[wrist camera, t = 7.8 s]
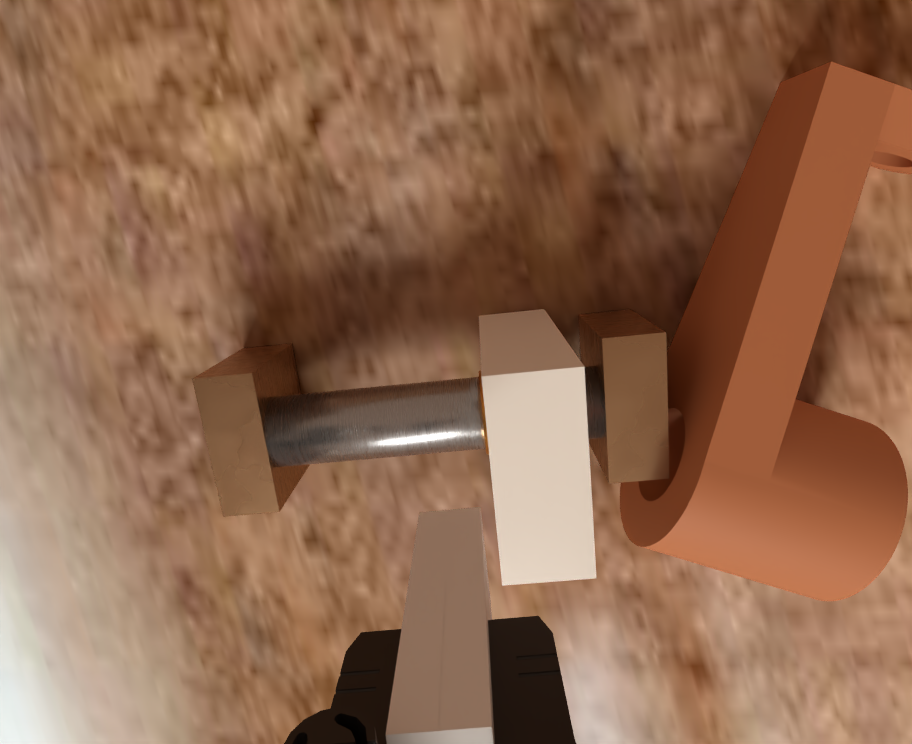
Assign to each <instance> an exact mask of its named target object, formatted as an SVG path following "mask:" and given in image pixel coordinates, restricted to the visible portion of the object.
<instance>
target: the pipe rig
mask: <svg viewBox="0 0 912 744" xmlns="http://www.w3.org/2000/svg"><path fill="white" fill-rule="evenodd" d="M578 317H579V335H580V352H581V362H582V364H583V365H584V368H585V386H586V404H587V422H588V439H589V444H590V446H591V448H592V450H593V452H594V454H595V456H596V458H597V460H598V462H599V464H600V466H601V468H602V470H603V472H604V474H605V476H606V478H607V480H608V482H609V484H611V483H622V482H634V481H646V480H657V479H669V436H668V389H667V342H666V332H665V331H664V330H662V329H660V328H659V327H657V326H656V325H654V324H653V323H651V322H650V321H648V320H646V319H645V318H643V317H642V316H640V315H639V314H637V313H636V312H634V311H632V310H631V309H627V310H617V311H608V312H598V313H588V314H578ZM192 380H193V385H194V389H195V393H196V398H197V402H198V407H199V411H200V416H201V420H202V425H203V429H204V434H205V438H206V442H207V447H208V451H209V456H210V460H211V465H212V469H213V474H214V478H215V483H216V487H217V491H218V496H219V500H220V505H221V509H222V514H223V517H226V516H237V515H249V514H261V513H272V512H280V510H281V509H282V507H283V505H284V504H285V502H286V501H287V499H288V498H289V496H290V495H291V493H292V491H293V490H294V488H295V487H296V485H297V484H298V482H299V481H300V479H301V477H302V476H303V474H304V473H305V471H306V470H307V468H308V467H309V465H310V464H318V463H329V462H341V461H352V460H363V459H374V458H385V457H396V456H407V455H419V454H430V453H441V452H452V451H463V450H474V449H485V448H486V453H487V454H489V447H488V437H487V427H486V417H485V407H484V397H483V387H482V378H481V371H479V377H473V378H462V379H452V380H441V381H431V382H421V383H410V384H400V385H389V386H379V387H369V388H358V389H348V390H337V391H327V392H317V393H306V394H301V390H300V385H299V379H298V374H297V368H296V362H295V357H294V351H293V346H292V343H290V344H281V345H271V346H261V347H251V348H243V349H241V350H239V351H238V352H236V353H234V354H233V355H231V356H229V357H228V358H226V359H224V360H223V361H221V362H220V363H218V364H216V365H215V366H213V367H211V368H210V369H208V370H206V371H205V372H203V373H201V374H200V375H198V376H196V377H195V378H193V379H192Z"/></svg>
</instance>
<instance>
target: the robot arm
mask: <svg viewBox="0 0 912 744" xmlns="http://www.w3.org/2000/svg"><path fill="white" fill-rule="evenodd" d="M340 674H341V675H340V677H339V679H338V683H337V687H336V694H334V698H333V702H332V705H331V709H327V710H323V711H320V712H318V713H316V714H314V715H312V716H310V717H308V718H307V719H305V720H303V721H302V722H301V723H300V724H299V725H298V726H297V727H296V728H295V729H294V730H293V731H292V732H291V733H290V734H289V736H288V738H287V740H286V742H285V743H284V744H576V742H575V739H574V734H573V729H572V725H571V720H570V715H569V710H568V705H567V700H566V696H565V691H564V686H563V681H562V676H561V672H560V666H559V662H558V657H557V652H556V647H555V642H554V637H553V633H552V631H551V630H550V629H549V628H548V627H547V626H546V624H545V623H544V622H543V621H542V620H541V618H540V617H539V616H531V617H519V618H507V619H495V620H492V615H491V601H490V592H489V583H488V573H487V564H486V555H485V545H484V536H483V527H482V517H481V508H480V507H475V508H464V509H453V510H442V511H431V512H420V513H419V517H418V524H417V531H416V537H415V544H414V550H413V557H412V564H411V570H410V577H409V583H408V590H407V596H406V603H405V610H404V616H403V623H402V629H397V630H385V631H373V632H361V633H360V635H359V636H358V637H357V638H356V640H355V641H354V642H353V643H352V645H351V646H350V647H349V648H348V650H347V651H346V654H345V657H344V661H343V665H342V668H341V672H340Z"/></svg>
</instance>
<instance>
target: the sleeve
mask: <svg viewBox="0 0 912 744" xmlns="http://www.w3.org/2000/svg"><path fill="white" fill-rule="evenodd" d="M479 333H480V356H481V378H482V387H483V397H484V407H485V417H486V427H487V437H488V447H489V457H490V467H491V477H492V487H493V497H494V507H495V517H496V527H497V536H498V546H499V556H500V566H501V576H502V585H515V584H528V583H541V582H554V581H567V580H580V579H593V578H596V563H595V546H594V528H593V510H592V493H591V475H590V457H589V439H588V422H587V404H586V386H585V368H584V365H583V364H582V362H581V361H580V360H579V358H578V357H577V355H576V354H575V352H574V351H573V350H572V348H571V347H570V345H569V344H568V342H567V341H566V340H565V338H564V337H563V335H562V334H561V332H560V331H559V330H558V328H557V327H556V325H555V324H554V322H553V321H552V320H551V318H550V317H549V315H548V314H547V312H546V311H545V310H544V309H540V310H530V311H520V312H510V313H500V314H491V315H481V316H479Z"/></svg>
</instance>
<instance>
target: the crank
mask: <svg viewBox="0 0 912 744" xmlns="http://www.w3.org/2000/svg"><path fill="white" fill-rule="evenodd" d="M869 166H873V167H876V168H878V169H883V170H887V171H893V172H899V173H906V174H912V90H911V89H908V88H905V87H902V86H899V85H897V84H894V83H891V82H888V81H885V80H882V79H880V78H877V77H874V76H871V75H868V74H865V73H863V72H860V71H857V70H854V69H851V68H848V67H846V66H843V65H840V64H837V63H834V62H829V63H826V64H824V65H821V66H819V67H817V68H814V69H812V70H809V71H807V72H804V73H802V74H799V75H797V76H795V77H792V78H790V79H787V80H785V81H782V82H781V83H780V85H779V87H778V90H777V92H776V95H775V97H774V99H773V102H772V104H771V107H770V109H769V111H768V114H767V116H766V119H765V121H764V123H763V126H762V128H761V130H760V133H759V135H758V138H757V140H756V142H755V145H754V147H753V150H752V152H751V154H750V157H749V159H748V162H747V164H746V166H745V169H744V171H743V173H742V176H741V178H740V181H739V183H738V185H737V188H736V190H735V193H734V195H733V197H732V200H731V202H730V205H729V207H728V209H727V212H726V214H725V216H724V219H723V221H722V224H721V226H720V228H719V231H718V233H717V236H716V238H715V240H714V243H713V245H712V247H711V250H710V252H709V255H708V257H707V259H706V262H705V264H704V267H703V269H702V271H701V274H700V276H699V279H698V281H697V283H696V286H695V288H694V290H693V293H692V295H691V298H690V300H689V302H688V305H687V307H686V310H685V312H684V314H683V317H682V319H681V322H680V324H679V326H678V329H677V331H676V333H675V336H674V338H673V341H672V343H671V345H670V348H669V350H668V353H667V389H668V436H669V479H657V480H646V481H634V482H622V483H621V487H620V511H621V519H622V523H623V527H624V530H625V532H626V534H627V536H628V538H629V539H630V540H631V541H632V542H633V543H634V544H636V545H637V546H641V547H644V548H647V549H651V550H654V551H657V552H660V553H664V554H667V555H670V556H674V557H677V558H680V559H684V560H687V561H690V562H694V563H697V564H700V565H704V566H707V567H710V568H714V569H717V570H720V571H723V572H727V573H730V574H733V575H737V576H740V577H743V578H747V579H750V580H753V581H757V582H760V583H763V584H767V585H770V586H773V587H776V588H780V589H783V590H786V591H790V592H793V593H796V594H800V595H803V596H806V597H810V598H813V599H816V600H821V601H836V600H841V599H845V598H848V597H850V596H852V595H854V594H856V593H858V592H859V591H861V590H863V589H864V588H865V587H867V586H868V585H869V584H870V583H871V582H872V581H873V580H874V579H875V578H876V577H877V576H878V575H879V574H880V573H881V571H882V570H883V569H884V568H885V566H886V565H887V563H888V561H889V560H890V558H891V557H892V555H893V553H894V551H895V549H896V547H897V544H898V542H899V539H900V537H901V534H902V530H903V527H904V523H905V518H906V512H907V503H908V487H907V478H906V472H905V468H904V464H903V461H902V458H901V456H900V454H899V451H898V450H897V448H896V446H895V444H894V443H893V442H892V440H891V439H890V438H889V436H888V435H887V434H886V433H885V432H884V431H882V430H881V429H880V428H878V427H877V426H875V425H873V424H871V423H868V422H865V421H862V420H859V419H856V418H853V417H850V416H847V415H844V414H840V413H837V412H834V411H831V410H828V409H825V408H822V407H819V406H815V405H812V404H809V403H806V402H803V401H800V400H797V399H796V396H797V393H798V390H799V387H800V383H801V380H802V377H803V374H804V371H805V368H806V365H807V361H808V358H809V355H810V352H811V349H812V346H813V343H814V339H815V336H816V333H817V330H818V327H819V324H820V320H821V317H822V314H823V311H824V308H825V305H826V302H827V298H828V295H829V292H830V289H831V286H832V283H833V280H834V276H835V273H836V270H837V267H838V264H839V261H840V258H841V254H842V251H843V248H844V245H845V242H846V239H847V235H848V232H849V229H850V226H851V223H852V220H853V217H854V213H855V210H856V207H857V204H858V201H859V198H860V195H861V191H862V188H863V185H864V182H865V179H866V176H867V172H868V169H869Z"/></svg>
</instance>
